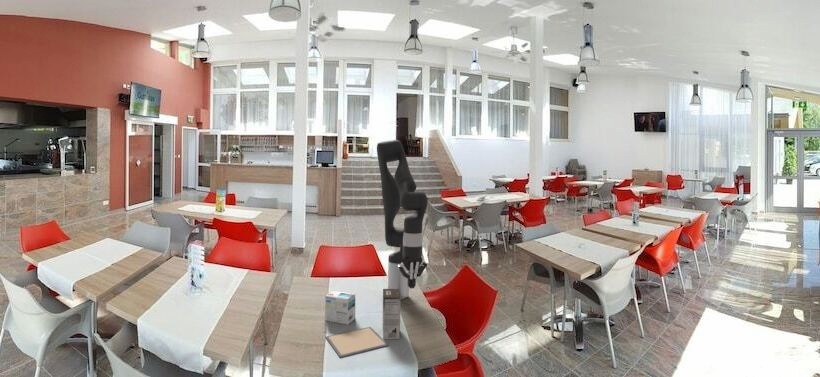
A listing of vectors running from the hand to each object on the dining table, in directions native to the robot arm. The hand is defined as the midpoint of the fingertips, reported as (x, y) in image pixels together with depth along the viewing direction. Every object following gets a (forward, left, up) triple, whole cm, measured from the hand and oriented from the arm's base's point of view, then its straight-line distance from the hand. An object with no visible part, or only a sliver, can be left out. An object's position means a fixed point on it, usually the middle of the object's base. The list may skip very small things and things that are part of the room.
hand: (411, 287), depth 152 cm
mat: (+23, 0, -17) cm, 28 cm away
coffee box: (+9, 0, -17) cm, 19 cm away
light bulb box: (+22, -20, -17) cm, 34 cm away
